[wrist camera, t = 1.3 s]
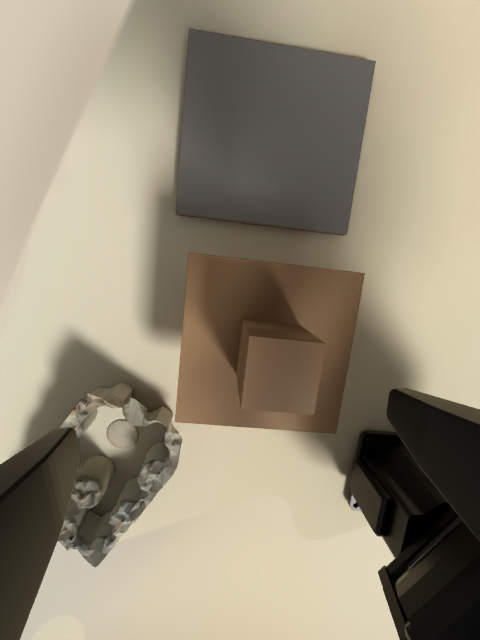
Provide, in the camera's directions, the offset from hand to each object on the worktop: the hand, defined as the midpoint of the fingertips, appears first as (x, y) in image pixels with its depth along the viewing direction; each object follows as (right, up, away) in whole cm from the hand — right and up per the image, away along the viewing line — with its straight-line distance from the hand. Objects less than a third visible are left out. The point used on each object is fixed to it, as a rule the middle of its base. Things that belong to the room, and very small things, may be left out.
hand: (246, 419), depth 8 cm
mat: (+2, +14, +10) cm, 17 cm away
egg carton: (-9, -7, +14) cm, 18 cm away
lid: (+1, +1, +8) cm, 8 cm away
